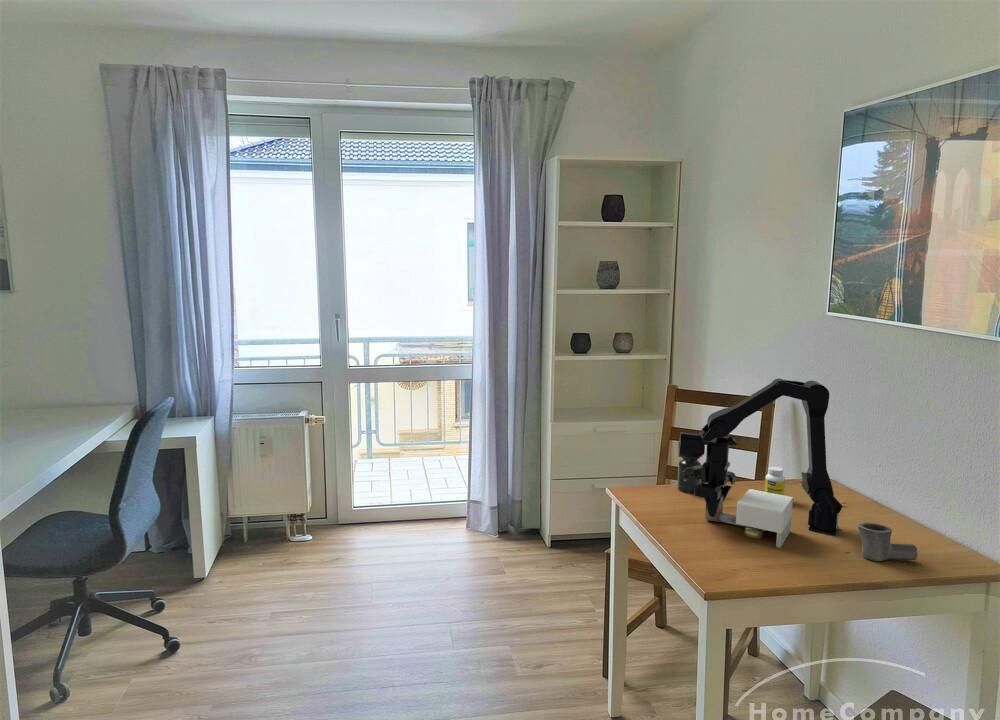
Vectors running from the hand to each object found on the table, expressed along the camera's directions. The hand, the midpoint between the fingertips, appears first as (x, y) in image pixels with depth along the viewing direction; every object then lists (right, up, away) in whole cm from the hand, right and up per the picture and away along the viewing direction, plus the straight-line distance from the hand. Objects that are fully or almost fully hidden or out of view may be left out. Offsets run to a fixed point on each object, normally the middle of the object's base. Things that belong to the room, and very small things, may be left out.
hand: (713, 514), depth 182 cm
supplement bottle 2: (+23, 0, +17) cm, 29 cm away
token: (+7, -3, -9) cm, 12 cm away
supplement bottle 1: (0, +2, +25) cm, 25 cm away
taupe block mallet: (+5, -2, -3) cm, 6 cm away
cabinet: (+10, -3, -9) cm, 14 cm away
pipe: (+33, -6, -23) cm, 41 cm away
